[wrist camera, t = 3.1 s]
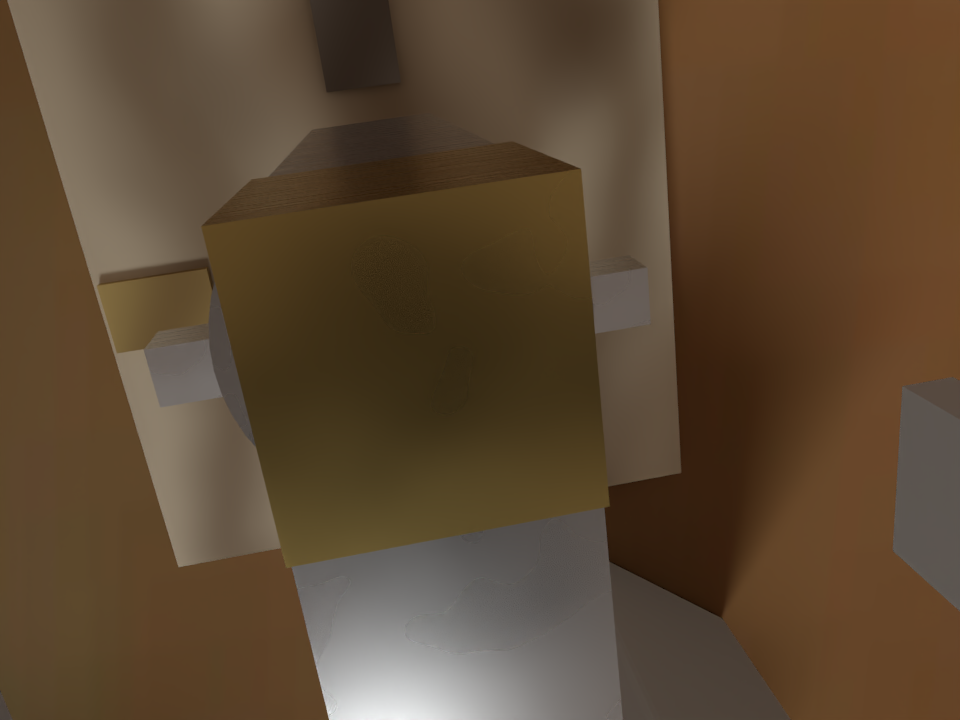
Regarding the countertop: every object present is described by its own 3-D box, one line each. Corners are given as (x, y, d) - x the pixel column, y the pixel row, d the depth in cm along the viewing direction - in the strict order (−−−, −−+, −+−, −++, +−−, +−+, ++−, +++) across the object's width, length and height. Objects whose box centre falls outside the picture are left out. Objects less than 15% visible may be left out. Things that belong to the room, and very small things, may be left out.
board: (184, 550, 32) (176, 571, 31) (22, 3, 25) (3, -2, 24) (670, 459, 34) (684, 476, 32) (641, -74, 27) (657, -82, 26)
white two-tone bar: (215, 527, 24) (-16, 1246, 9) (110, 150, 21) (-561, 341, 6) (639, 449, 25) (1040, 976, 11) (614, 78, 22) (1184, 77, 7)
